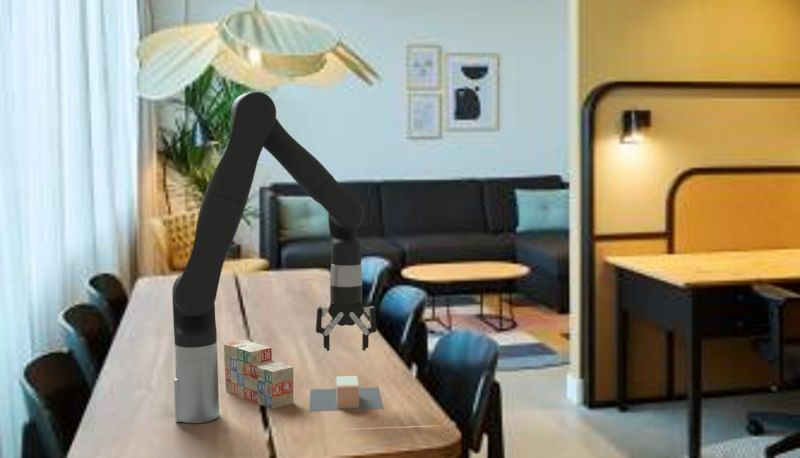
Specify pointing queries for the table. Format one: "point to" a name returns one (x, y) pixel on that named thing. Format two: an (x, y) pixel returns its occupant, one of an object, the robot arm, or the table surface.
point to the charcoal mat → (328, 399)
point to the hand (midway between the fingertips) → (346, 350)
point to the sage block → (347, 392)
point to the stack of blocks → (257, 374)
